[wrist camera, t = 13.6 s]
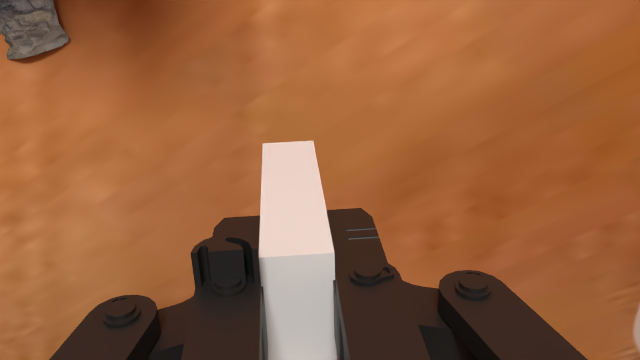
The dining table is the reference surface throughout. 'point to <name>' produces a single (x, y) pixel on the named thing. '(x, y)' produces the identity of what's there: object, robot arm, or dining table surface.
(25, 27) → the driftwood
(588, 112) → the dining table surface
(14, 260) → the dining table surface
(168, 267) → the dining table surface
